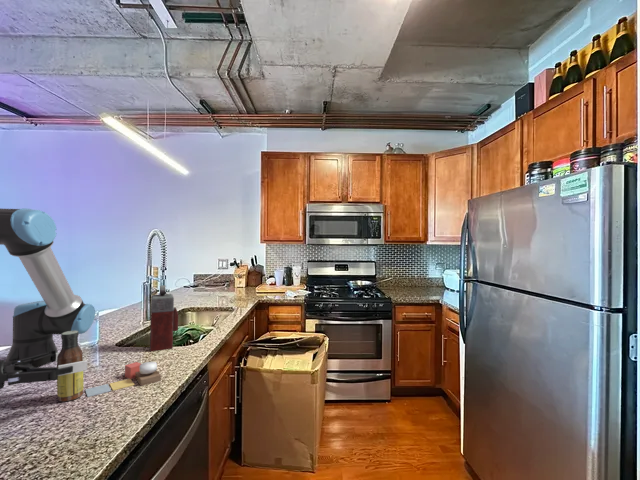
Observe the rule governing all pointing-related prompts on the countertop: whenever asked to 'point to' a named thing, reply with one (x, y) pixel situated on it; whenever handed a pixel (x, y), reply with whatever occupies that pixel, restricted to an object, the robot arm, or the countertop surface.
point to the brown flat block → (147, 378)
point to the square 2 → (121, 384)
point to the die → (132, 370)
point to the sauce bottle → (70, 353)
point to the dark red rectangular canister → (162, 321)
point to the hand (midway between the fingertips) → (84, 358)
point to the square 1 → (97, 390)
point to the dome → (148, 367)
